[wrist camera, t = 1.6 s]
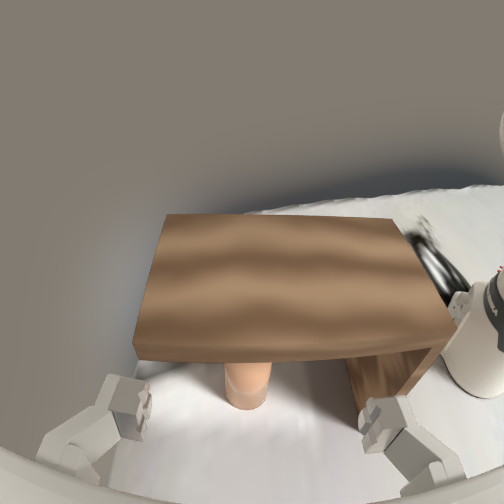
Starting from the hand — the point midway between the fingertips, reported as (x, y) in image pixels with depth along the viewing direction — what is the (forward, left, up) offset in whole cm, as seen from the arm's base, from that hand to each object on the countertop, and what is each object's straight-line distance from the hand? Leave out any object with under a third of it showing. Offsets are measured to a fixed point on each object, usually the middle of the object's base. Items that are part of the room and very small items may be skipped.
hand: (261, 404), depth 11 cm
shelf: (-14, -5, -26) cm, 29 cm away
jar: (-12, -7, -26) cm, 29 cm away
